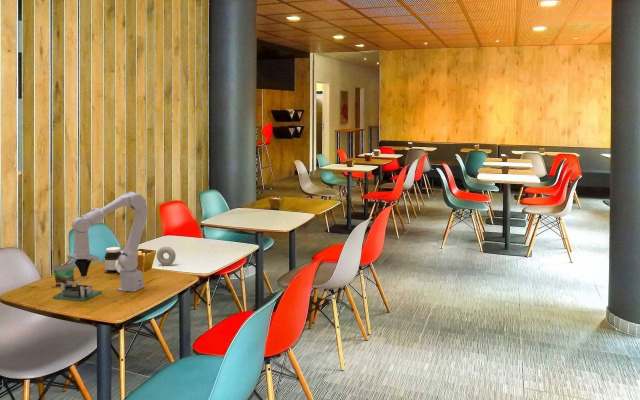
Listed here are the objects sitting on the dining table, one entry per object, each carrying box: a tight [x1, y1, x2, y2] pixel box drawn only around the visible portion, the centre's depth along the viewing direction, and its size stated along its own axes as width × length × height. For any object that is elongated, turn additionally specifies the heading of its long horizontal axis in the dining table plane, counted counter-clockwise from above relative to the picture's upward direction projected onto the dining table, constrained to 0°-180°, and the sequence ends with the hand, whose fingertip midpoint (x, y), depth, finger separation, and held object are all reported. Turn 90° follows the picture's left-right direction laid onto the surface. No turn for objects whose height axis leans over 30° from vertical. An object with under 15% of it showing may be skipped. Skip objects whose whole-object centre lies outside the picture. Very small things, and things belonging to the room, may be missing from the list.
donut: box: [156, 246, 176, 266], centre depth 311 cm, size 10×4×10 cm, turn 86°
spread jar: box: [103, 246, 122, 274], centre depth 300 cm, size 12×11×12 cm
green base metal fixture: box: [52, 281, 103, 302], centre depth 262 cm, size 16×12×6 cm
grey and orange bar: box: [66, 275, 90, 286], centre depth 261 cm, size 12×2×1 cm, turn 72°
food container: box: [52, 259, 76, 287], centre depth 280 cm, size 12×6×10 cm, turn 168°
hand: (84, 276), depth 259 cm, fingers closed
